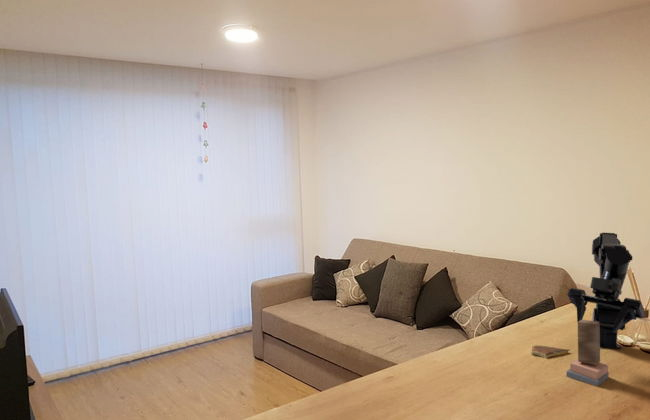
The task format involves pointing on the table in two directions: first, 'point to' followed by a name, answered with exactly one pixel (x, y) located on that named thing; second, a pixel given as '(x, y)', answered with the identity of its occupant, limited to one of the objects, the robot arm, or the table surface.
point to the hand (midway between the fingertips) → (595, 327)
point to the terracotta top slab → (589, 369)
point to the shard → (547, 351)
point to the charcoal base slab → (587, 378)
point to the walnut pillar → (589, 342)
